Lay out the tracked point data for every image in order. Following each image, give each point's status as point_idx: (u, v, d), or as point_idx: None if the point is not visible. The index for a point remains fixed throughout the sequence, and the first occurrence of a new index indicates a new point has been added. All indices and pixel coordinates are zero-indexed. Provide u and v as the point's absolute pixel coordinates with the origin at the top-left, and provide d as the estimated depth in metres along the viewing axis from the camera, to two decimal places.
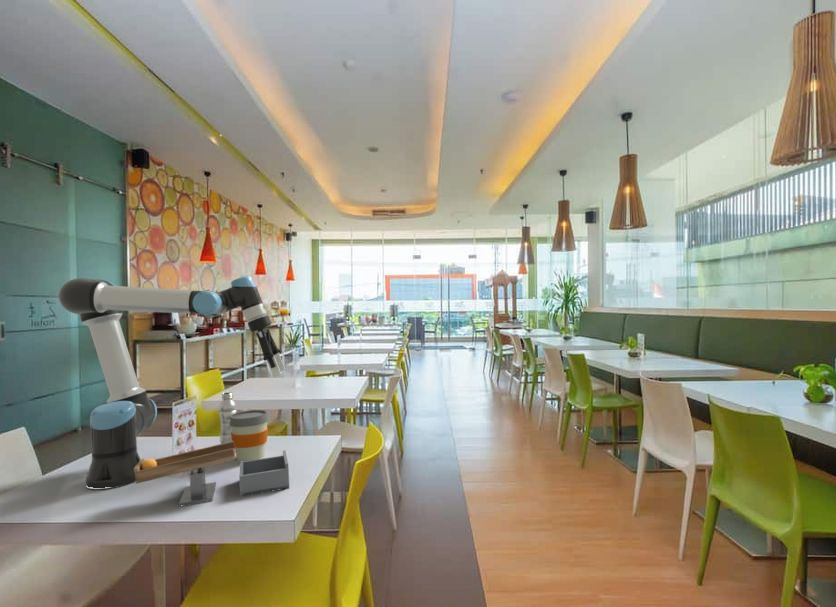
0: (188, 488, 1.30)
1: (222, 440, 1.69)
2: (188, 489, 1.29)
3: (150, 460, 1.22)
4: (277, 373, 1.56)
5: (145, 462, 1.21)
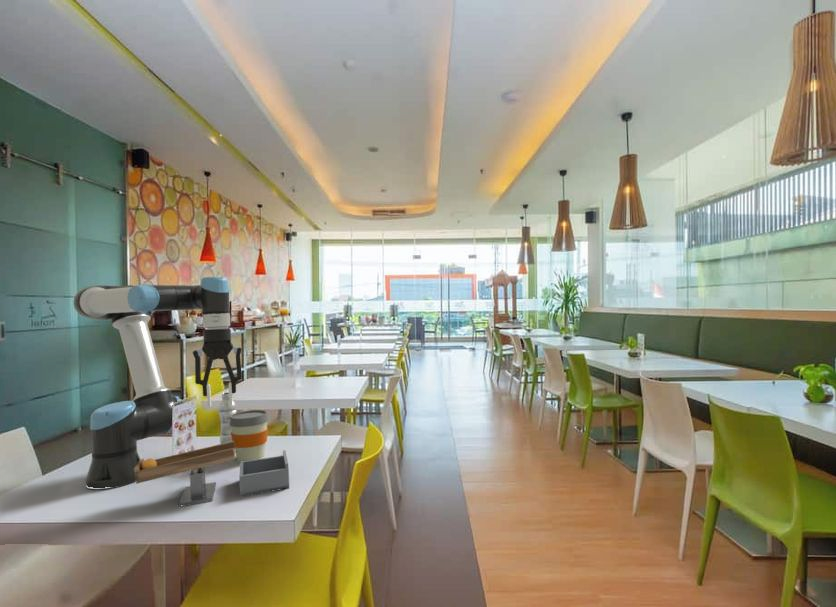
0: (188, 488, 1.30)
1: (222, 440, 1.69)
2: (188, 489, 1.29)
3: (150, 460, 1.22)
4: None
5: (145, 462, 1.21)
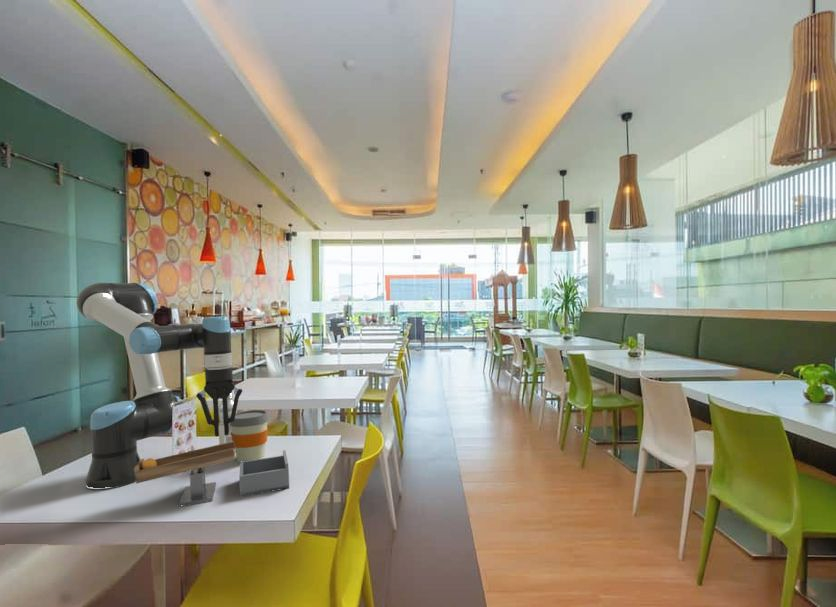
0: (188, 488, 1.30)
1: None
2: (188, 489, 1.29)
3: (150, 460, 1.22)
4: (219, 444, 1.35)
5: (145, 462, 1.21)
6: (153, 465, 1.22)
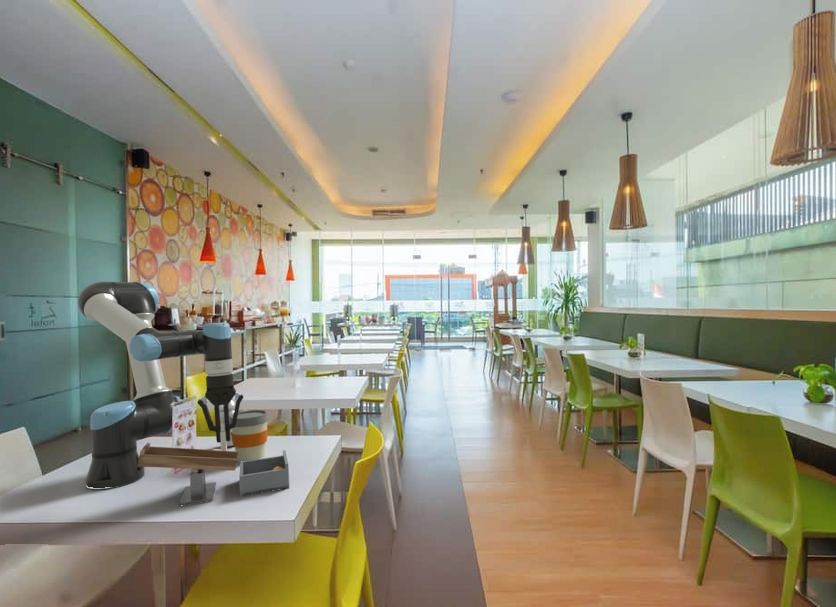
0: (188, 488, 1.30)
1: None
2: (188, 489, 1.29)
3: (279, 468, 1.33)
4: None
5: None
6: None
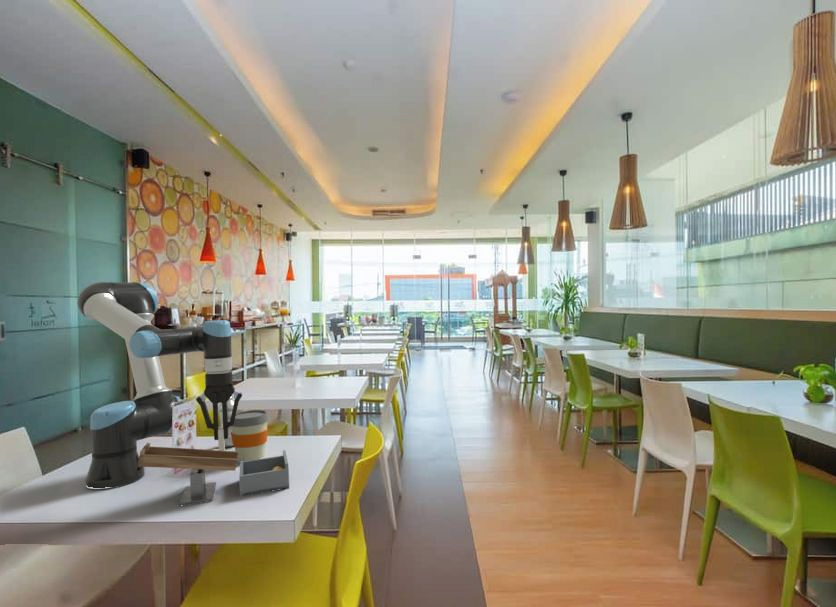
0: (188, 488, 1.30)
1: None
2: (188, 489, 1.29)
3: (278, 468, 1.33)
4: None
5: None
6: None
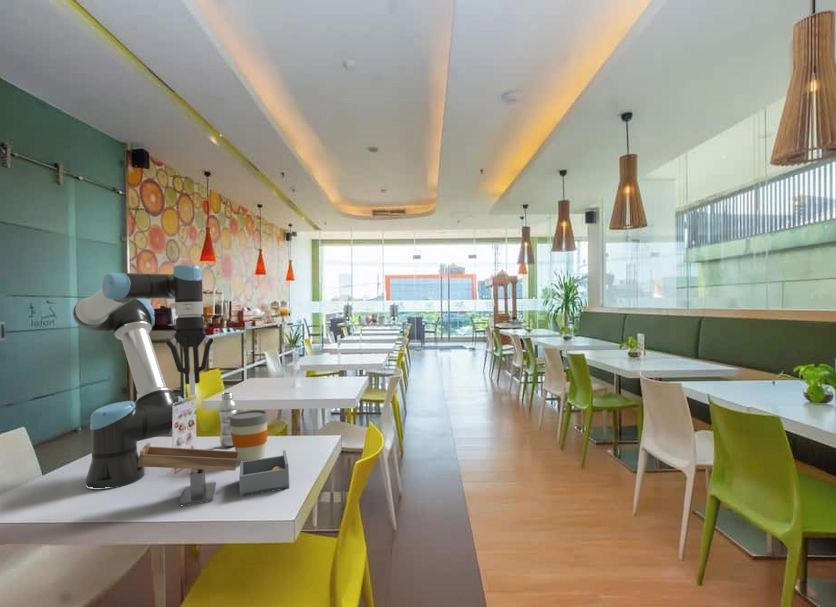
0: (188, 488, 1.30)
1: (222, 440, 1.69)
2: (188, 489, 1.29)
3: (277, 468, 1.33)
4: (190, 392, 1.36)
5: None
6: None
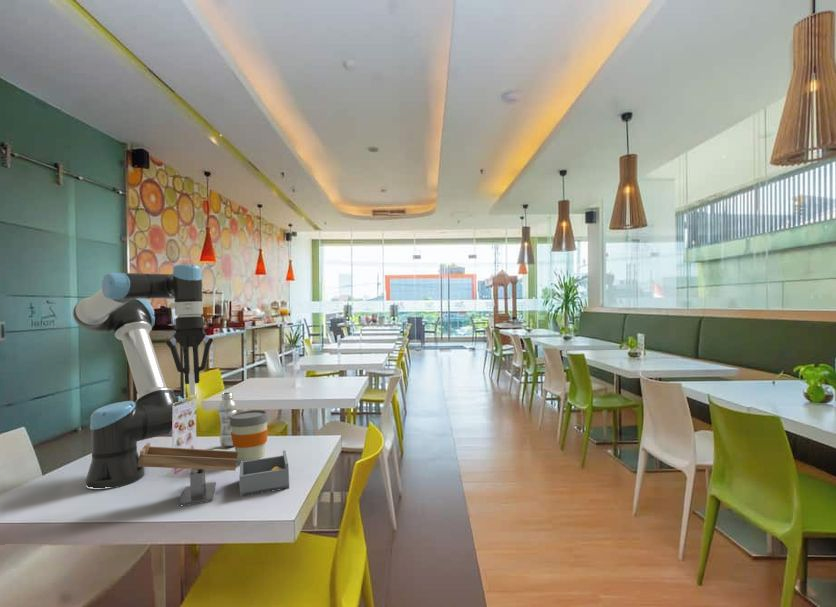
0: (188, 488, 1.30)
1: (222, 440, 1.69)
2: (188, 489, 1.29)
3: (277, 468, 1.33)
4: None
5: None
6: None
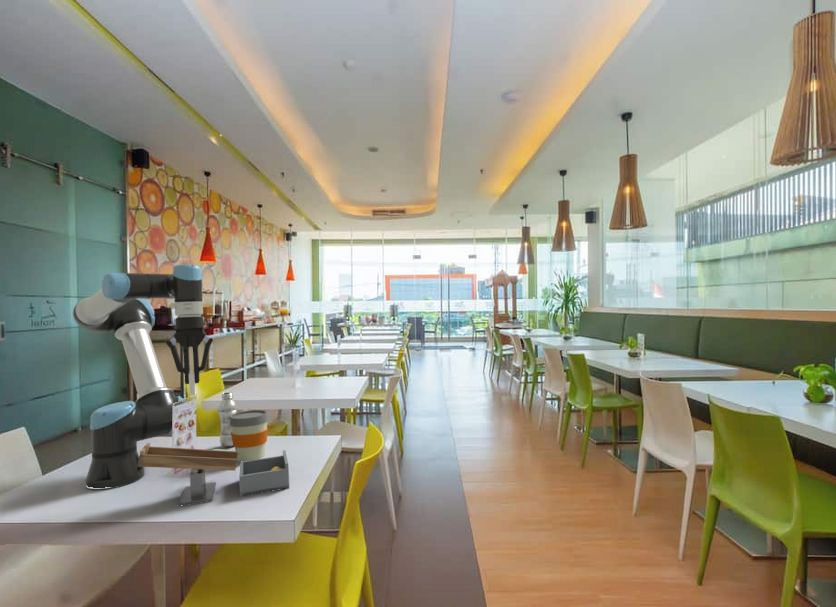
0: (188, 488, 1.30)
1: (222, 440, 1.69)
2: (188, 489, 1.29)
3: (276, 468, 1.33)
4: None
5: None
6: None
